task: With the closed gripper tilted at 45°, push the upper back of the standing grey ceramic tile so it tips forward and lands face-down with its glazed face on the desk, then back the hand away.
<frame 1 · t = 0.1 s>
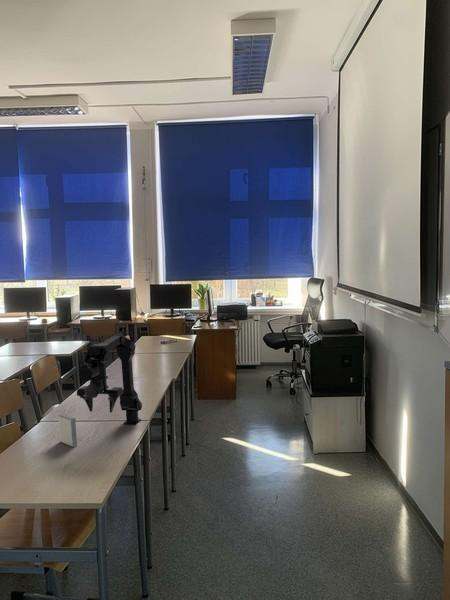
hand: (101, 411, 188), 14 cm above the table, tool pointing down, fingers open, 9 cm apart
grey tile: (68, 443, 192), on the table
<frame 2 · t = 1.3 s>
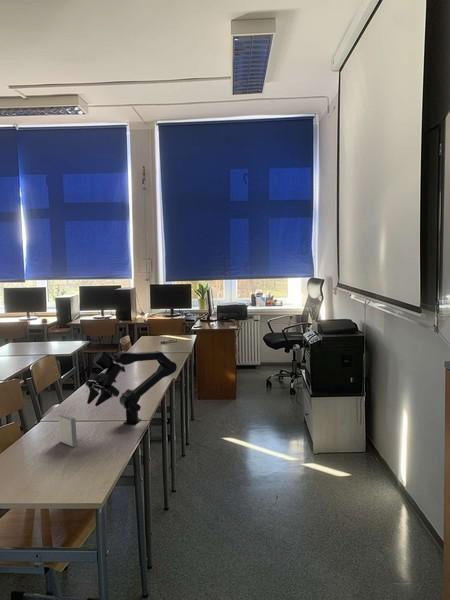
hand: (91, 404, 201), 14 cm above the table, tool tilted 45°, fingers open, 6 cm apart
nothing on the table moved.
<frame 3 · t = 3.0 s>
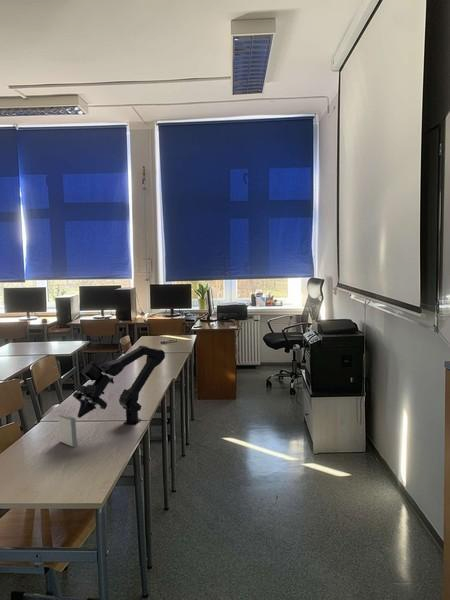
hand: (78, 417, 196), 10 cm above the table, tool tilted 45°, fingers closed
nothing on the table moved.
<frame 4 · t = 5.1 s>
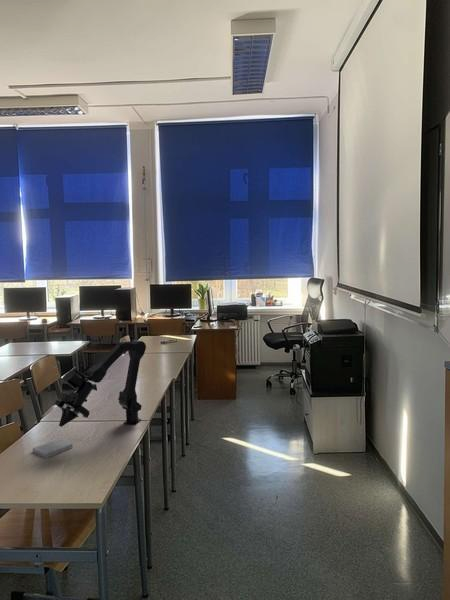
hand: (60, 426, 189), 9 cm above the table, tool tilted 45°, fingers closed
grey tile: (65, 443, 191), point 1 cm above the table, tilted 90°
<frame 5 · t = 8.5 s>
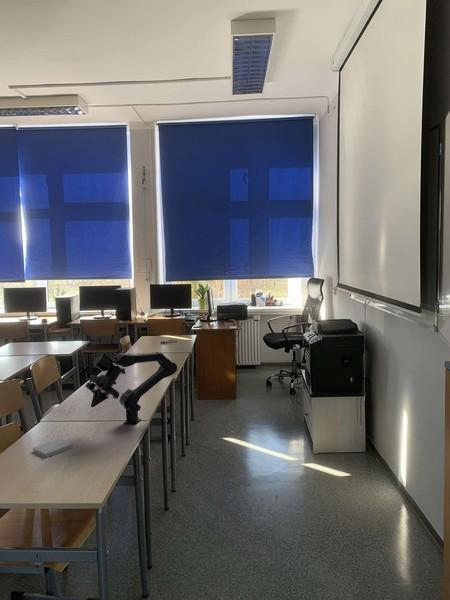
hand: (91, 406, 201), 13 cm above the table, tool tilted 45°, fingers closed
nothing on the table moved.
at the end: grey tile tilted 90°; grey tile inside the target area (1.1 cm from its centre), point 0.7 cm above the table; the gripper is holding nothing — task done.
